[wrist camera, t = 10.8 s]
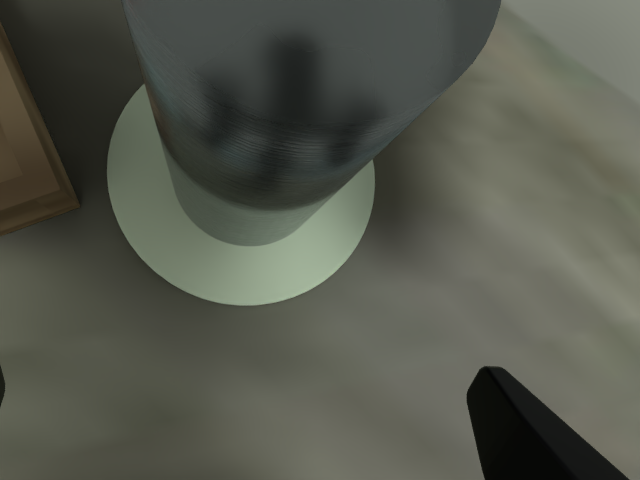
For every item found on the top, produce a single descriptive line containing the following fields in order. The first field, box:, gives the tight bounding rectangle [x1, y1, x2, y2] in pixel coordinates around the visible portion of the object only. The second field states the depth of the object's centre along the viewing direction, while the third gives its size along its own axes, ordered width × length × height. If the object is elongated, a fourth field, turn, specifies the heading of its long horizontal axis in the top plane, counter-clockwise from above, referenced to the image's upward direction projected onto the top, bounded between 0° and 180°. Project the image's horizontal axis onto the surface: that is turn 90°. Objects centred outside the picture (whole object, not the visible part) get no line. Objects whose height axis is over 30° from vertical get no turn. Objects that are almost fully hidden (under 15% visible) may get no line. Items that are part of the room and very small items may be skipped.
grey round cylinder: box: [121, 0, 501, 246], centre depth 12 cm, size 6×6×12 cm
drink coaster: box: [107, 84, 375, 306], centre depth 18 cm, size 10×10×1 cm
